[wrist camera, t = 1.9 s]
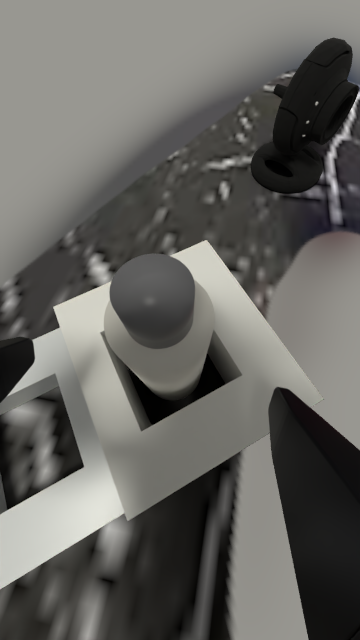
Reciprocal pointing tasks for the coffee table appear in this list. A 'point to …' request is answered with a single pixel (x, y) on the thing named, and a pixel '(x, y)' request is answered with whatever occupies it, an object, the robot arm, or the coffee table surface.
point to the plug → (160, 324)
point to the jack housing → (141, 416)
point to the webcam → (307, 117)
